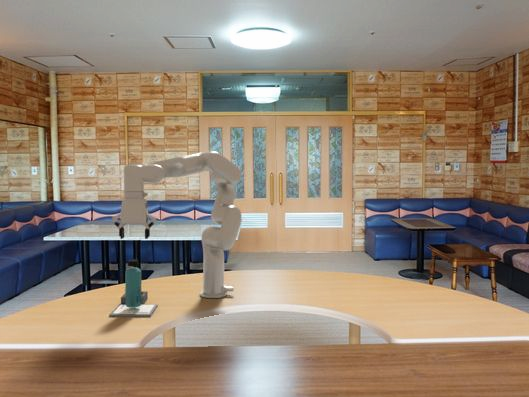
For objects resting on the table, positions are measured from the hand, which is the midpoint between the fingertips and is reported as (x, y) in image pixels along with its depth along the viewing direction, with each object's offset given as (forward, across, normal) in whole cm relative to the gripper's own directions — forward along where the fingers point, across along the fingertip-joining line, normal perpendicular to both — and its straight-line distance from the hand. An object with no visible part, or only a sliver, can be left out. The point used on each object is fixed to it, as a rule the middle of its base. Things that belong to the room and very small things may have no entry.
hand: (134, 238), depth 173 cm
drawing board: (+30, 0, 0) cm, 30 cm away
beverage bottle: (+29, +1, 0) cm, 29 cm away
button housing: (+30, +3, -12) cm, 32 cm away
